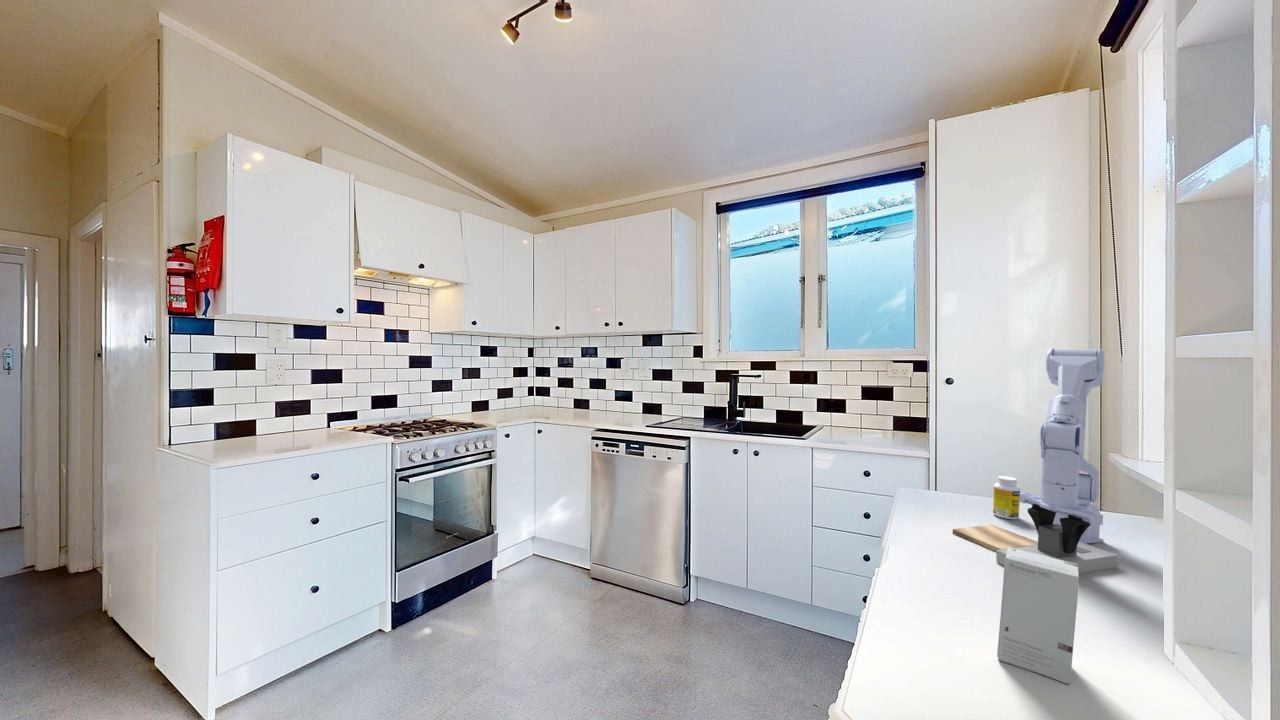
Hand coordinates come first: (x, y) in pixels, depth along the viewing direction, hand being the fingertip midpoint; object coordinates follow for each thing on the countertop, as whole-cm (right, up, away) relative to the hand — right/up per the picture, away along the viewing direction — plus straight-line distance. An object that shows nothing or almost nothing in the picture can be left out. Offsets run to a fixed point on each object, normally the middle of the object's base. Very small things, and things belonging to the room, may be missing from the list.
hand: (1057, 547), depth 103 cm
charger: (0, -3, 0) cm, 3 cm away
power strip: (0, -4, 0) cm, 3 cm away
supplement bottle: (+11, -3, +29) cm, 31 cm away
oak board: (-4, -3, +13) cm, 13 cm away
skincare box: (-29, -5, -32) cm, 44 cm away
